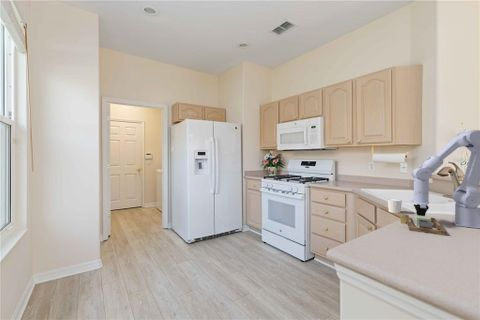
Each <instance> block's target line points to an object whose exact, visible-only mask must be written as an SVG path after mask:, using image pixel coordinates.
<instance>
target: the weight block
mask: <svg viewBox="0 0 480 320" xmlns="http://www.w3.org/2000/svg"><path fill="white" fill-rule="evenodd" d="M418 227H420V228H428V229H433V223H432V222H431V221H427V220H419V226H418Z"/></svg>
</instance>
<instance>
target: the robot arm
mask: <svg viewBox="0 0 480 320" xmlns="http://www.w3.org/2000/svg"><path fill="white" fill-rule="evenodd" d="M462 147H465V148H466V149H467V150H468V151H469V152H470V155H469V159H468V162H467V165H466V168H465V173H464V176H463V179H462V182H461V184H460V185H459V186H457V188H456V191H454V192H453V194H452V200H453V202H455V204H454V207H455V208H454V220H452V221H451V222H452V223H453V224H454V225H455V226H457V227H463V228H465V227H467V228H473V229H480V207H479V205H480V189H479V186H480V129H473V130H467V131H461V132H458V133H457V134H456V135H455V136H453V137H452V138H451V140H450V141H448V142H447V144H446V145H445V146H444V147H443V148H441V150H440V151H438V153H437V154H436V155H431V156H427V157H426V160H425V161H424V162H423V163H421V164H419V165H418V167H417V168H415V169H413V171H412V172H411V177H413V199H410V202H411V203H414V204H413V207H414V210H415V211H416V215H418V216H426V214H427V212H428V210H429V208H430V206H429V204H430V201H429V197H430V195H429V190H430V189H429V188H430V183H429V182H430V181H429V179H431V178H432V175H433V173H435V171H437V170H438V169H439V168H440V167H441V166H442V165H443V164H444V160H445V159H446V158H447V157H448V156H450V155H451V154H452V153H454V152H455V151H456V150H457V149H458V148H462Z"/></svg>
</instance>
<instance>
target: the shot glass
mask: <svg viewBox="0 0 480 320" xmlns="http://www.w3.org/2000/svg"><path fill="white" fill-rule="evenodd" d="M402 202H403V201H402V200H401V199H396V198H388V199H387V207H388V212H389V213H392V214H401V210H402V204H403V203H402Z"/></svg>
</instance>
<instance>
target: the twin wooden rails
mask: <svg viewBox="0 0 480 320" xmlns="http://www.w3.org/2000/svg"><path fill="white" fill-rule="evenodd" d="M405 218H406V225H407V227H408V230H409V231H411V232H417V233H426V234H433V235H440V236H447V231H446V230H445V229H444V228H443V226H441V224H440V223H439V222H438V220H437V219H436V218H435V217H430V219H431V222H432V226H434V227H435V229H433V228H432V229H428V228H420V227H419V226H414V224H413V223H412V220H411V218H410V216H409V214H405Z"/></svg>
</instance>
